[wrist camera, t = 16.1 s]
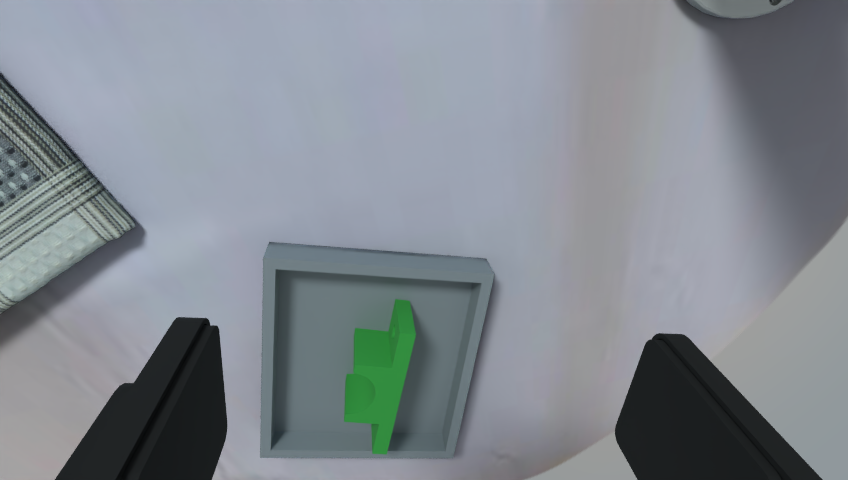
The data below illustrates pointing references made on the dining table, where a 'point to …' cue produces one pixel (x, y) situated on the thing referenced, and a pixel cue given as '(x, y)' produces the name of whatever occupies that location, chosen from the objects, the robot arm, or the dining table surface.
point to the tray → (334, 346)
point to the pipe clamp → (380, 375)
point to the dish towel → (45, 204)
